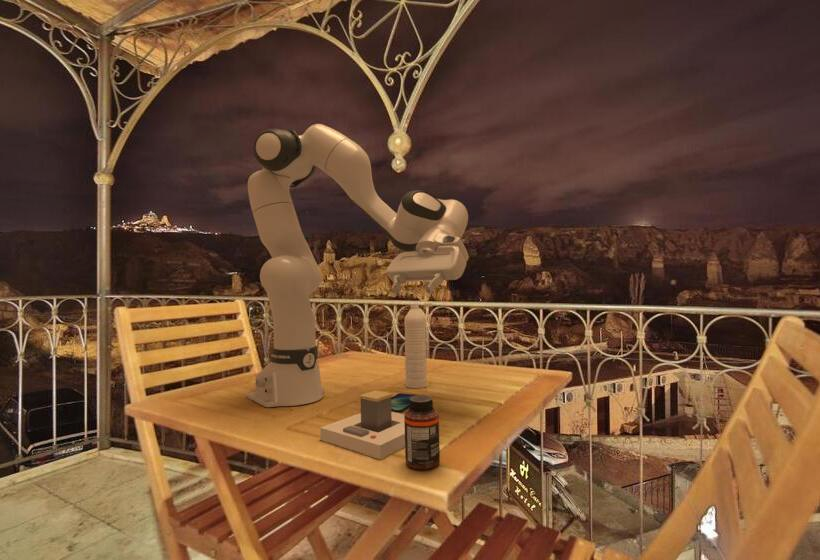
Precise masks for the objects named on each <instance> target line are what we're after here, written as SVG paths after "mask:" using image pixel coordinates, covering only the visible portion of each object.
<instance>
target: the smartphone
mask: <svg viewBox="0 0 820 560" xmlns="http://www.w3.org/2000/svg"><path fill="white" fill-rule="evenodd" d="M416 395H417V394H413V393H403V392H400V393H397V394H395V395H392V397H391V412H396V413H400V414H402V413H404V411H405V412H406V411H407V410H408V409H409V408H410V406H409V399H410V397H412V396H416Z"/></svg>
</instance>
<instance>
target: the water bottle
mask: <svg viewBox="0 0 820 560" xmlns="http://www.w3.org/2000/svg"><path fill="white" fill-rule="evenodd" d="M423 306H424V307H428V308H429V307H433V303H432V302H425V303H424V304H423ZM409 308H410V309H409V310H408V312H407V313H406V315H405V317H404V351H405V352H404V358H405V359H404V364H405V365H404V367H405V368H404V370H405V387H406V388H409V389H423V388H425V387H427V386H428V377H427V376H428V374H427V373H428V372H427V367H428V366H427V360H428V359H427V331H426V329H427V328H426V327H427V322H426V321H427V320H426V317H425V315H424V314H423V312H422V310H421V309H420V306H419V303H410V307H409Z"/></svg>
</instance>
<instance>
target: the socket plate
mask: <svg viewBox="0 0 820 560" xmlns="http://www.w3.org/2000/svg"><path fill="white" fill-rule="evenodd" d="M404 415H405V413H396V412H391V416H392V427H390V428H388V429H385V430H383V431H381V432H379V433H378V432H374V431H370V430H367V429H363V428H361V412H359V413H356V414H353V415H352V416H351V415H350V416H348V417H345V418H343V419H340V420H338V421H334V422H331V423H329V424H326V425H324V426H322V427H320V428H319V429H320V432H319V433H320V441H321V440H322V441H321V442H325V443H328V442H329V443H328V444H331V443H332V444H331V445H334V444H336V445H335V446H337V445H339V446H338V447H340V446H342V447H341V448H343V447H345V448H344V449H346V448H348V449H347V450H349V449H350V451H352V450H354V451H353V452H355V451H357V452H356V453H358V452H360V453H359V454H361V453H363V454H362V455H365V456H368V457H371V458H373V459H378V460H383V459H384V458H386V457H389V456H390V455H392V454H393V453H396V452H398V451H400V450H401V449H405V423H404Z"/></svg>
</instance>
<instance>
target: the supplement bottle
mask: <svg viewBox="0 0 820 560" xmlns="http://www.w3.org/2000/svg"><path fill="white" fill-rule="evenodd" d="M415 395H416V396H412V397H410V399H409V406H410V407H409V408H408V409H406V410H405V412H404V414H405V415H404V423H405V447H404V450H405V451H404V453H405V454H404V455H405V463H406V465H407V467H409V468H411V469H414V470H418V471H427V470H431V469H434V468H436V467H437V466H438V465H439V464H440V459H441V456H440V455H441V454H440V453H441V452H440V450H441V449H440V422H439V421H440V419H439V418H440V417H439V411H438V410H437V409H436V408H434V403H433V397H432V396H430V395H427V394H425V395H424V394H415Z"/></svg>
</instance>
